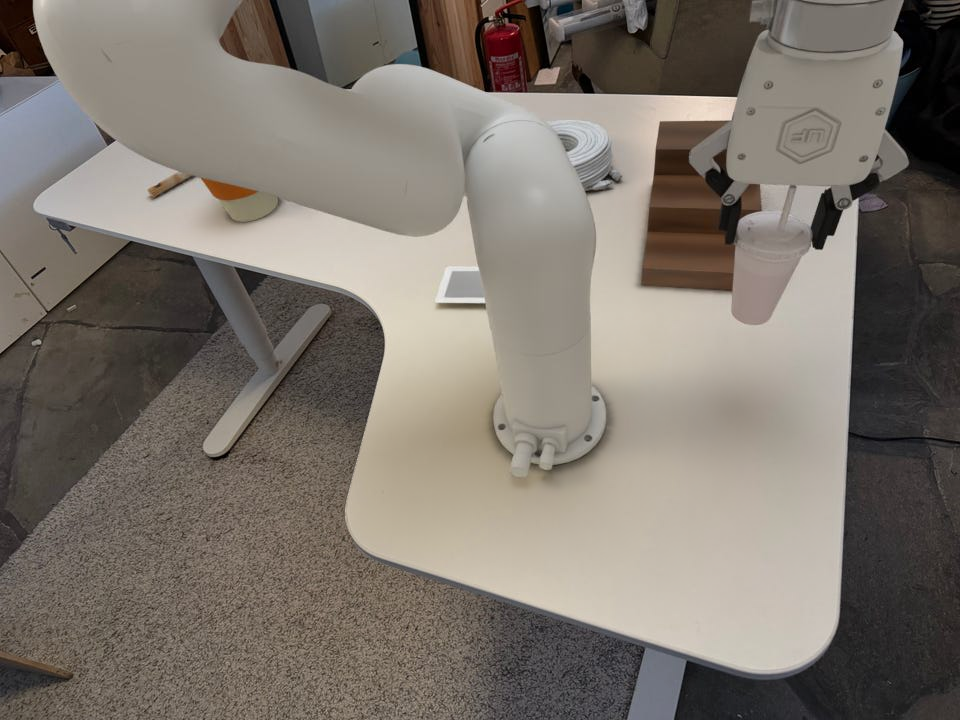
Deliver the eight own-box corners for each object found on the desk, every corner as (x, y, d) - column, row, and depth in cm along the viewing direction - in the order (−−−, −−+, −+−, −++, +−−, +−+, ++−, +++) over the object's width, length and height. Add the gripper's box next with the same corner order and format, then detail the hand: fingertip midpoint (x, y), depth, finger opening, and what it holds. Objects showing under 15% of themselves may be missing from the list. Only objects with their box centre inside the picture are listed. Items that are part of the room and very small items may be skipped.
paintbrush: (237, 139, 124) (150, 190, 116) (243, 151, 126) (158, 202, 118) (227, 135, 126) (142, 184, 118) (234, 147, 128) (150, 196, 120)
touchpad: (543, 309, 81) (542, 297, 79) (435, 308, 84) (432, 296, 82) (548, 272, 86) (548, 260, 84) (447, 272, 89) (444, 260, 88)
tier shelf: (753, 292, 77) (771, 219, 69) (641, 285, 81) (645, 216, 73) (749, 188, 92) (763, 119, 85) (654, 187, 96) (659, 121, 88)
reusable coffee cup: (255, 183, 116) (219, 107, 105) (301, 195, 111) (269, 116, 100) (206, 219, 110) (163, 142, 99) (253, 233, 104) (213, 153, 93)
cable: (627, 186, 98) (628, 151, 93) (523, 211, 97) (519, 177, 93) (592, 138, 110) (591, 105, 105) (499, 160, 109) (495, 128, 105)
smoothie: (790, 336, 57) (835, 209, 47) (718, 333, 58) (747, 208, 48) (781, 292, 61) (821, 166, 51) (714, 289, 62) (740, 166, 52)
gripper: (694, 42, 40) (666, 258, 53) (1003, 33, 35) (890, 271, 48) (697, 2, 45) (671, 209, 58) (970, -10, 40) (875, 218, 53)
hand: (771, 236), depth 53 cm, fingers closed on smoothie, 6 cm apart
